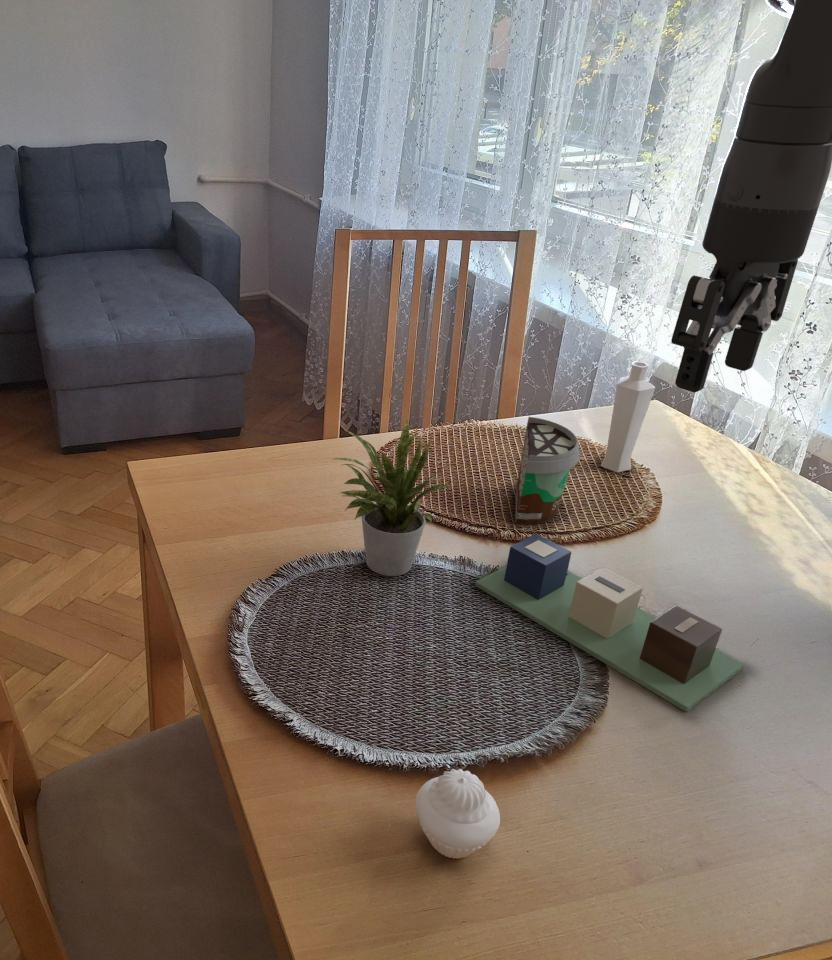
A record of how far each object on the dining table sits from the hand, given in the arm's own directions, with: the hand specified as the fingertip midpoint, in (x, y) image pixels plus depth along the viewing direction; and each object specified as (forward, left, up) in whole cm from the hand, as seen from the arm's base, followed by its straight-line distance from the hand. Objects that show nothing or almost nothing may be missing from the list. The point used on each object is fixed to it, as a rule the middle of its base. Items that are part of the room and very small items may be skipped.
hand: (713, 378), depth 79 cm
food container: (-8, -19, -26) cm, 33 cm away
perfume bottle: (-26, -20, -26) cm, 42 cm away
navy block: (+7, -9, -26) cm, 28 cm away
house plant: (+16, -23, -26) cm, 38 cm away
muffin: (+40, +8, -26) cm, 49 cm away
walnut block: (+7, +7, -26) cm, 27 cm away
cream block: (+7, -1, -26) cm, 26 cm away
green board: (+7, -1, -26) cm, 27 cm away
